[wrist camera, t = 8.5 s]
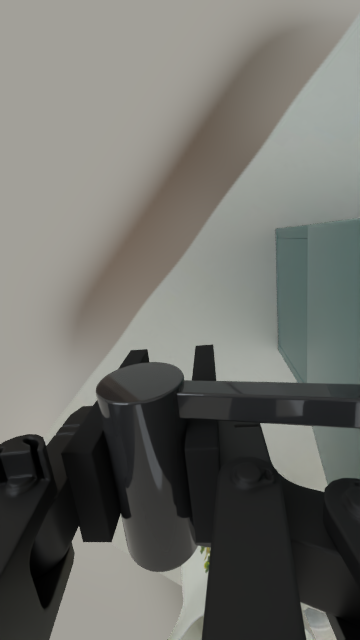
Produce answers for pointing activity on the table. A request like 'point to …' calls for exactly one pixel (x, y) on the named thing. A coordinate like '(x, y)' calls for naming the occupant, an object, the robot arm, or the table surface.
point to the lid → (236, 407)
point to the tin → (292, 297)
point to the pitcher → (203, 598)
